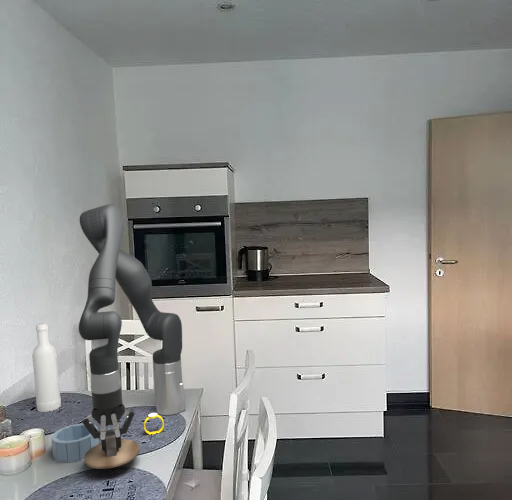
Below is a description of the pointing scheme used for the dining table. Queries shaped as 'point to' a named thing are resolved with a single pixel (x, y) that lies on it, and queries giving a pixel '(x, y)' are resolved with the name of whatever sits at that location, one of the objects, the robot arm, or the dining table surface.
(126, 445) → the lid
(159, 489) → the dining table surface
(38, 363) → the bottle
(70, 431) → the bowl
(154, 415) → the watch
